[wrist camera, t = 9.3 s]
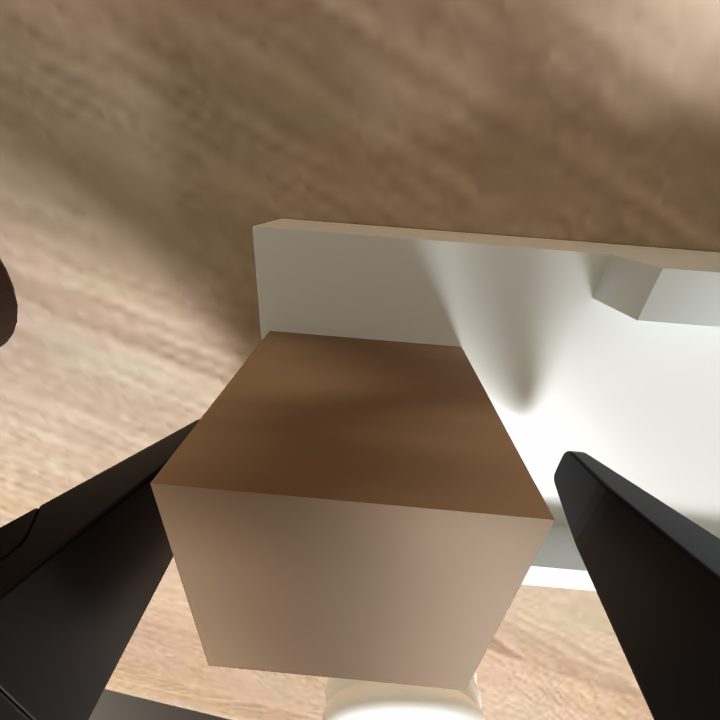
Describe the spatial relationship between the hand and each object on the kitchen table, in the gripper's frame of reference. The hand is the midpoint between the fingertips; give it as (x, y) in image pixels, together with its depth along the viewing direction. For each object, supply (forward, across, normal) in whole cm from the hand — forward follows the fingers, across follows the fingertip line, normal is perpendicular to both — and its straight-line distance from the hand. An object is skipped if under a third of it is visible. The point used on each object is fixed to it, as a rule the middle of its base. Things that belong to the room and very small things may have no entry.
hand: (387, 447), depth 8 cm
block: (+1, +1, 0) cm, 2 cm away
